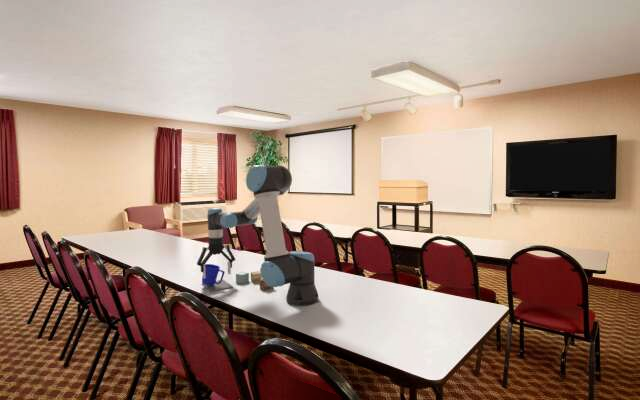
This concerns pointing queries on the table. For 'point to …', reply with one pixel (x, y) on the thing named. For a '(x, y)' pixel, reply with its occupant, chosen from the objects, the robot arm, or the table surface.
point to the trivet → (218, 286)
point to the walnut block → (264, 285)
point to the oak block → (256, 276)
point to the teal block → (242, 277)
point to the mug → (211, 274)
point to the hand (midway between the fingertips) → (217, 276)
